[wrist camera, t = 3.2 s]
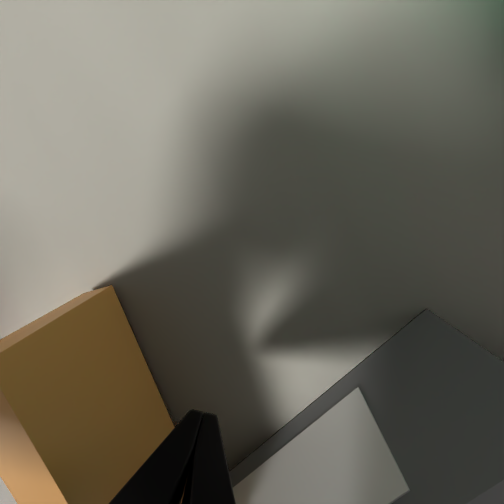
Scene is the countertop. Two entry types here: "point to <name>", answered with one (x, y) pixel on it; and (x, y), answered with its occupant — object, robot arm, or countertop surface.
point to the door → (76, 404)
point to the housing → (393, 430)
